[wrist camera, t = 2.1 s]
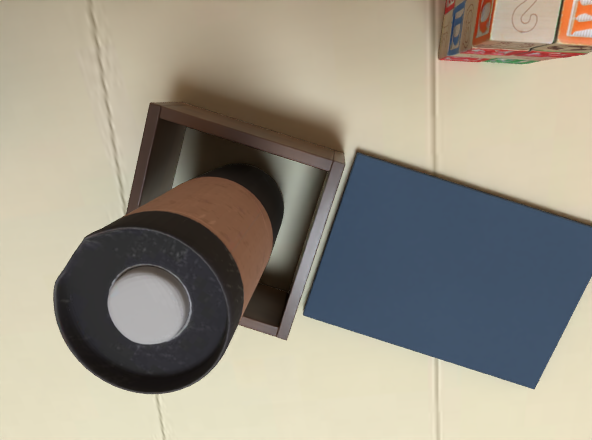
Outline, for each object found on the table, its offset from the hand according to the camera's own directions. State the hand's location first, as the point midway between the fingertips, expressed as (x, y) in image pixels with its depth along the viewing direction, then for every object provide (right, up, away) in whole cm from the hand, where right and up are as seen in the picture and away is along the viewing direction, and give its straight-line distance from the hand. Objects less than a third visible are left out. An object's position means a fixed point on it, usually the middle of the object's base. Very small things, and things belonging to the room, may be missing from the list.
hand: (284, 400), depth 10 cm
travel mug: (-4, +5, +29) cm, 29 cm away
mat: (+12, 0, +28) cm, 31 cm away
